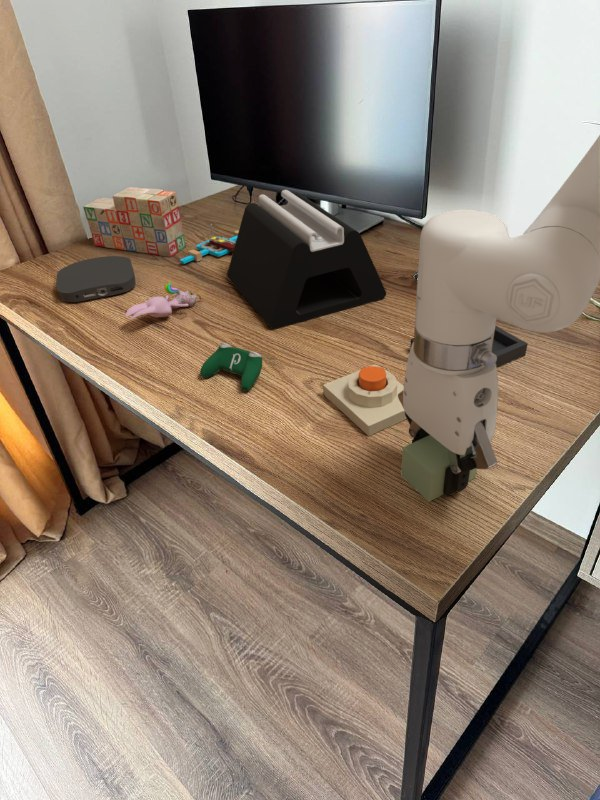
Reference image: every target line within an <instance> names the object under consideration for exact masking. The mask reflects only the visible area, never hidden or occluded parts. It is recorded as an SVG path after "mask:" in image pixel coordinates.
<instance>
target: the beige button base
mask: <svg viewBox="0 0 600 800" xmlns="http://www.w3.org/2000/svg"><path fill="white" fill-rule="evenodd" d="M371 366H376V367H379V365H377V364H372V365H371ZM360 370H361V369H359V370H356V371H354V372H352V373H349V374H347V375H344V376H342V377H339V378H337V379H333V380H332V381H329V382H327V383H324V384H323V385H322V390H323V396H324V397H326V399H328V400H329V401H330V402H331V403H332V404H333V405H334V406H335V407H337V408H338V409H339V410H340V411H341V412H342V413H343V414H344V415H345V416H346V417H347V418H348V419H349V420H350V421H351V422H353V423H354V424H355V425H356V426H357V428H359V429H360V430H361V431H363V432H364V434H365V435H367V436H368V437H370V436H371V435H374V434H376V433H379V432H381V431H383V430H385V429H388V428H389V427H393V426H394V425H396V424H399V423H401V422H403V421H405V420H407V418H406V416H405V410H404V408H403V406H402V404H401V402H400V401H399V399H398V394H399V393H400V392H401V391H403V390H404V384H402V383H401V382H399V381H398V380H397V377H396V376H395V375H394V374H393V373H392V372H390V371H389V370H385V372H386V386H385V388H384V389H382V390H380V391H366V390H363V389H361V388H360V386H359V372H360Z"/></svg>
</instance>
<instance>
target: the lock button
mask: <svg viewBox="0 0 600 800" xmlns="http://www.w3.org/2000/svg"><path fill="white" fill-rule="evenodd" d="M359 370H360V372H359V386H360V388H361V389H363V390H366V391H380V390H382V389H384V388H385V386H386V372H385V371H386V370H385V369H384V368H382V367H381V366H378V367H376V366H372V365H370V366H365V367H363V368H361V369H359Z"/></svg>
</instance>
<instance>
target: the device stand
mask: <svg viewBox="0 0 600 800" xmlns="http://www.w3.org/2000/svg"><path fill="white" fill-rule="evenodd" d="M280 196H281V197H282V198H283V199H285V200H286V201H287V203H286V204H283V205H279V204H278V203H277V202H275V201H274V200H272V199H271V198H270V197H269V196H267V195H265V194H263V193H262V194H260V195H258V204H257V203H256V202H250V203H248V204H247V205H246V206H245V208H244V211H243V214H242V218H241V221H240V225H239V229H238V230H239V232H238V236H237V240H236V243H235V247H234V251H232V253H231V258H230V261H229V266H228V269H227V273H226V277H227V278H228V280H229V281H230V282H231V284H233V286H234V287H235V288H236V289H237V290H238V292H239V293H240V294H241V295H242V296H243V297H244V299H245V300H246V301H247V302H248V304H249V305H250V306H251V307H252V309H254V311H256V313H257V314H258V316H259V317H260V318H261V319H262V320H263V321H264V322H265V324H266V325H267V326H268V327H269V328H270V329H271V330H278V329H282V328H284V327H288V326H292V325H296V324H299V323H302V322H306V321H310V320H313V319H317V318H320V317H325V316H327V315H330V314H334V313H339V312H342V311H345V310H349V309H353V308H357V307H360V306H363V305H367V304H370V303H374V302H378V301H381V300H383V299H385V298H386V296H387V291H386V288H385V287H384V285H383V282H382V279H381V278H380V275H379V273H378V271H377V269H376V266H375V264H374V262H373V260H372V257H371V255H370V252H369V251H368V249H367V247H366V244H365V241H364V239H363V238H362V234H360V232H359V231H358V230H356V229H354V228H353V227H351V226H350V225H349V224H347V223H345V222H344V221H343V220H341V219H339V218H338V217H336V216H335V215H333V214H332V213H330V212H328V211H327V210H326V209H324V208H323V207H321V206H319V205H318V204H317V203H315V202H313V201H312V200H310V199H308V198H307V197H306V196H304V195H303V194H301V193H295V194H294V193H292V192H291V191H289V190H288V189H283V190H282V191H281V193H280Z"/></svg>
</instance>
